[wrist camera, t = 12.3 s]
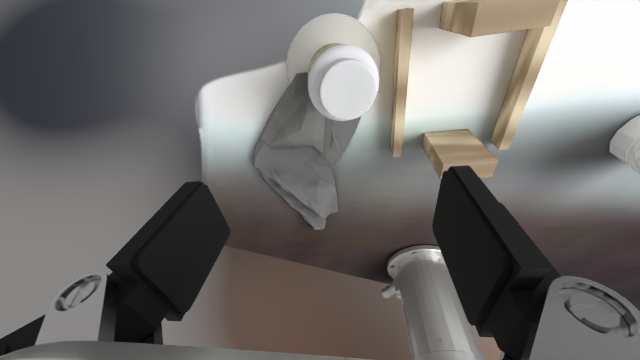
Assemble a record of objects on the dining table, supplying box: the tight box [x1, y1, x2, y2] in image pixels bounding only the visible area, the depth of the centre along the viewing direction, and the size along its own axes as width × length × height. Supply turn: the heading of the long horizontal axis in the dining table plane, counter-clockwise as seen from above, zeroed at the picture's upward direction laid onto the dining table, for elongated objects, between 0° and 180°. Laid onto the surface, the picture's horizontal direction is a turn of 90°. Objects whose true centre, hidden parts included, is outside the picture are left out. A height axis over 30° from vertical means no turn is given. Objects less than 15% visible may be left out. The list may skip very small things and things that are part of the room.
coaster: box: [287, 13, 380, 84], centre depth 25 cm, size 10×10×1 cm
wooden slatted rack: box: [391, 0, 568, 180], centre depth 22 cm, size 15×13×7 cm
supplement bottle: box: [308, 43, 379, 121], centre depth 20 cm, size 6×6×10 cm
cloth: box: [253, 72, 361, 230], centre depth 32 cm, size 26×14×2 cm, turn 172°
